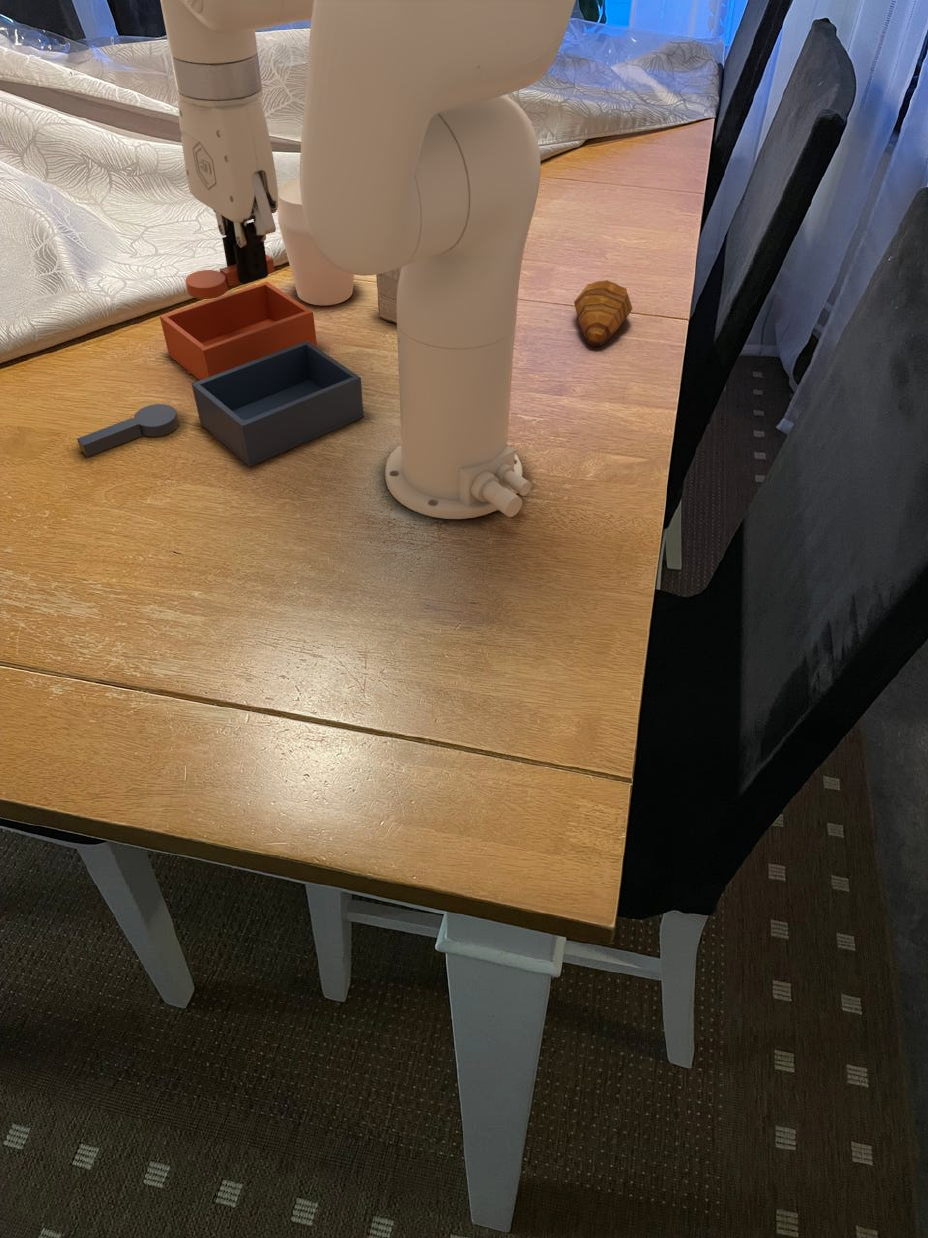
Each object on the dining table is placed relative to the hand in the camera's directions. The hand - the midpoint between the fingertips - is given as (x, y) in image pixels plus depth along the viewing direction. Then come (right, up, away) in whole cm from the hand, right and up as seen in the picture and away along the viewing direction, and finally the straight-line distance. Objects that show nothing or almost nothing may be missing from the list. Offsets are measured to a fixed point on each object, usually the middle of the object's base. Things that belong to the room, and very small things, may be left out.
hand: (248, 275), depth 92 cm
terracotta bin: (-2, -7, +5) cm, 8 cm away
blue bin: (+4, -16, -4) cm, 17 cm away
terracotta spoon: (-2, -1, -1) cm, 2 cm away
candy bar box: (+18, +1, +13) cm, 22 cm away
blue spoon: (-10, -18, -7) cm, 22 cm away
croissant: (+39, -1, +11) cm, 40 cm away
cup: (+6, +3, +15) cm, 16 cm away
